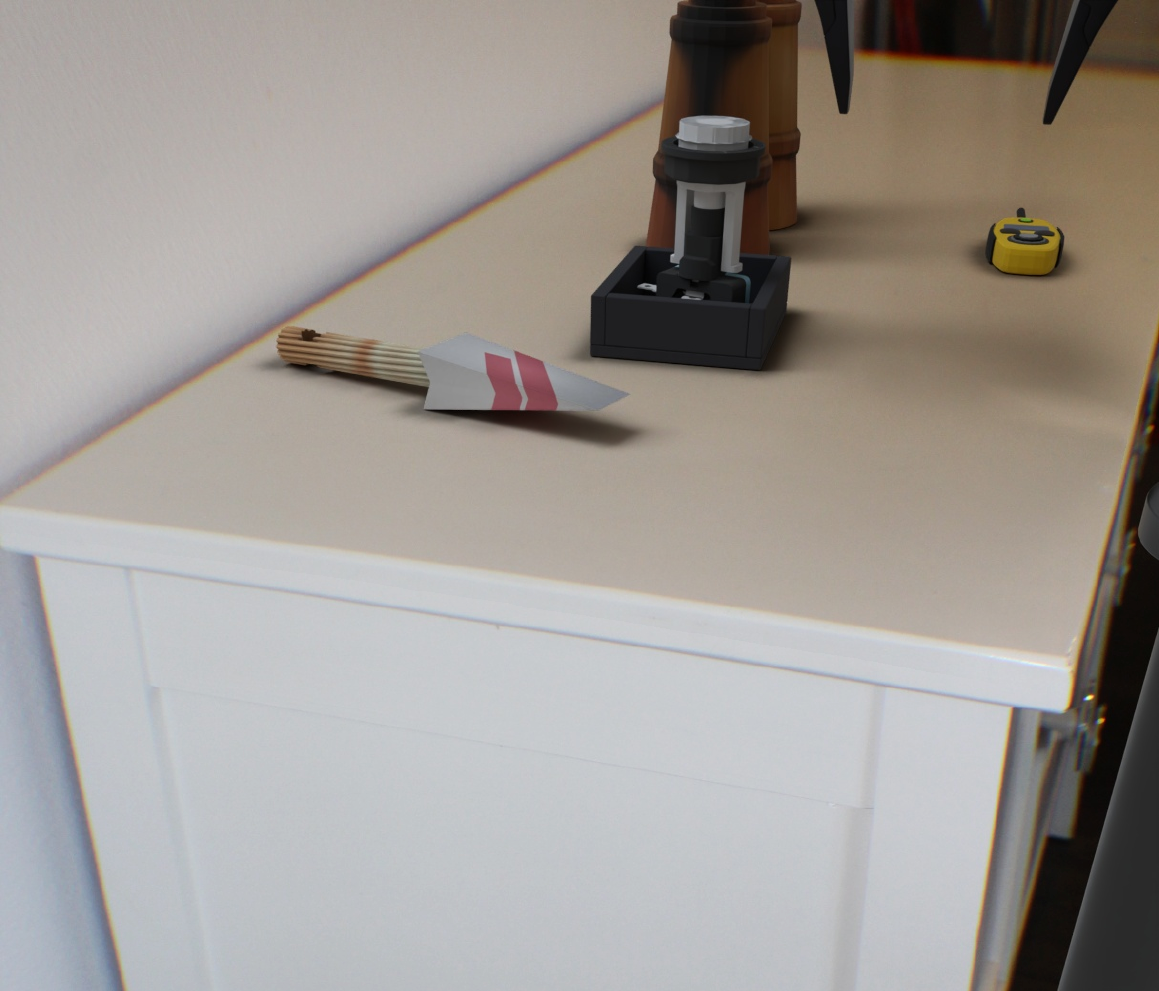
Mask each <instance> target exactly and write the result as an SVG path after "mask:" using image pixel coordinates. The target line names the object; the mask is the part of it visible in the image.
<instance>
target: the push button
mask: <svg viewBox="0 0 1159 991" xmlns="http://www.w3.org/2000/svg"><path fill="white" fill-rule="evenodd" d="M749 128H750V122H749V121H747V120H745V119H740V118H735V117H725V116H695V117H687V118H683V119H681V120H680V125H679V133H677V134H676V135H675V136H674V137H670V138H666V139H664V140H663V141H662V142H661V151H662V152H664V153H665V168H664V172H665V174H666V175H668V176H669V177H671V178H672V179H674V180H677V209H676V230H675V250H674V254H672V255H671V260H670V262H672V263H677V264H679V265H677V266H675V267H673V268H670V269H668V270H665V271H663V272H660V273H659V274H658V275H657V283H656V285H651V284H646V283H643V284H641V285H638V286H637V287H638V288H641V289H647V290H652V291H653V292H656V296H657V297H670V298H683V299H696V300H709V301H722V302H735V303H748V304H749V298H750V285H751V282H750V279H749V277H747V276H744V275H738V272H740V271H742V265H743V264H742V263H739V254H740V240H741V227H742V213H743V200H744V190H745V182H747V181H752V180H755V179H756V178H757V177H758V176H759V169H760V157H761V156H762V155H764V154H765V147H766V145H765V143H764V142H762V141H759V140H756V139H752V136H751V135H749Z"/></svg>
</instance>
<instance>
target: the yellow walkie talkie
mask: <svg viewBox="0 0 1159 991" xmlns="http://www.w3.org/2000/svg"><path fill="white" fill-rule="evenodd" d="M1026 216H1027V215H1026V210H1025V208H1024V207H1018V208H1017V210H1016V217H1013V216H1012V217H1004V218H1002V219H1000V220H999V221H998V222H994V223H992V225H991V226H990V227H989V230H988V235H987V238H986V244H985V253H984V254H985V258H986V260H987V262H988V263H989V264H990V265H994V266H995V267H996V268H997V269H999V271H1001V272H1003V273H1007V274H1013V275H1014V274H1015V275H1027V276H1028V275H1029V276H1041V275H1042V276H1043V275H1046V274H1050V272H1052V270H1054V269H1056V268H1058V267H1059V265H1060V263H1061V260H1062V255H1063V252H1064V246H1065V234H1064V233H1063V231H1062V229H1061V228H1060V227H1059V226H1056V227H1055V226H1054V225H1053V224H1051V223H1050V221H1049V222H1048V221H1047V220H1046V219H1042V218H1033V217H1026Z"/></svg>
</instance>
